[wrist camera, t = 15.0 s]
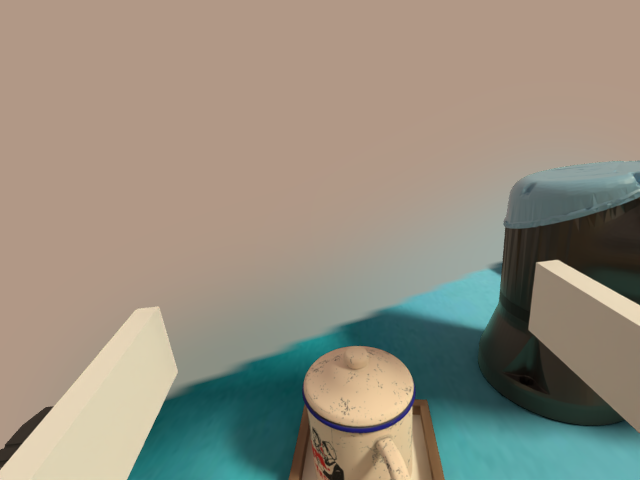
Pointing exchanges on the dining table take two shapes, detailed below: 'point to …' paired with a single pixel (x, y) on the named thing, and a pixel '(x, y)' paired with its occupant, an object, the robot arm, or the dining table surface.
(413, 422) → the walnut tray
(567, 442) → the dining table surface
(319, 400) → the teacup with lid
